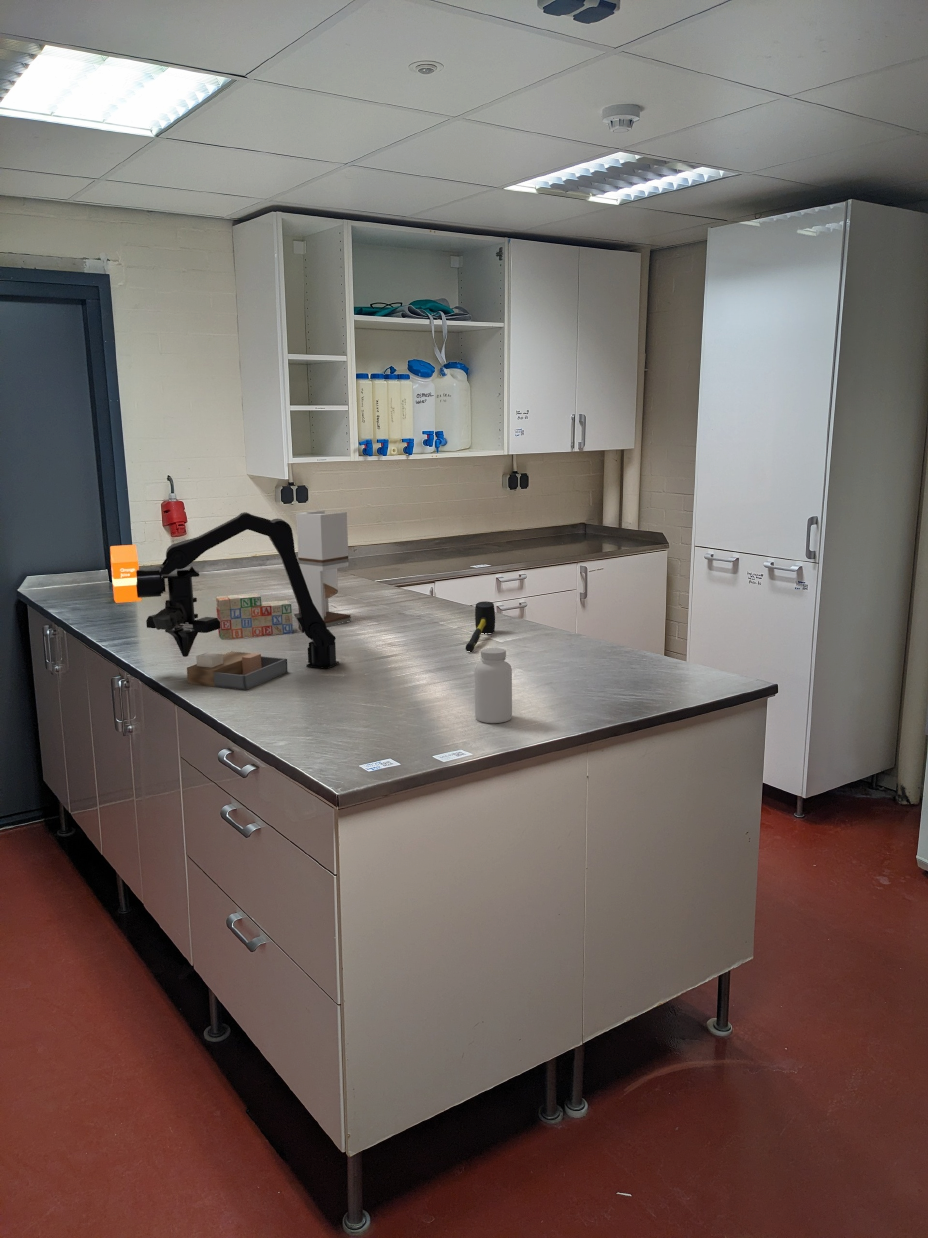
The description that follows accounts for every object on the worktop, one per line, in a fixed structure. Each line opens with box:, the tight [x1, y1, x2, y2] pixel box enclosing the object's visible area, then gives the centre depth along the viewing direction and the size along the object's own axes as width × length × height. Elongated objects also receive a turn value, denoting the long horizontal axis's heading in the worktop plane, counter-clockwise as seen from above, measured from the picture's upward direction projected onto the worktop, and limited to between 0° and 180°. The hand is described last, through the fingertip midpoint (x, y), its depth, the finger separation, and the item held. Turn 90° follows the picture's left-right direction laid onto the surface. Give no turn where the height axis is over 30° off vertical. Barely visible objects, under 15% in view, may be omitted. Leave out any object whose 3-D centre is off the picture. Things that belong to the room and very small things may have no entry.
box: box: [214, 655, 289, 691], centre depth 234 cm, size 9×18×4 cm, turn 157°
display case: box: [295, 510, 352, 628], centre depth 298 cm, size 11×11×35 cm
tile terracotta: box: [242, 652, 262, 675], centre depth 239 cm, size 4×4×2 cm
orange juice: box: [109, 544, 142, 604], centre depth 342 cm, size 8×9×20 cm
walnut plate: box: [186, 650, 252, 688], centre depth 238 cm, size 8×18×4 cm, turn 157°
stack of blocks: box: [215, 592, 294, 641], centre depth 284 cm, size 21×6×12 cm, turn 113°
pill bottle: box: [473, 647, 513, 724], centre depth 200 cm, size 8×8×15 cm
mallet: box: [465, 601, 496, 653], centre depth 272 cm, size 29×6×10 cm, turn 169°
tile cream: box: [195, 651, 223, 668], centre depth 233 cm, size 4×4×2 cm
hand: (185, 656), depth 236 cm, fingers closed
